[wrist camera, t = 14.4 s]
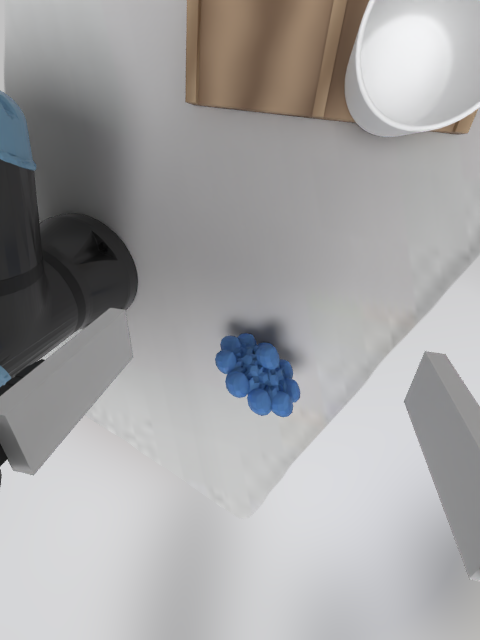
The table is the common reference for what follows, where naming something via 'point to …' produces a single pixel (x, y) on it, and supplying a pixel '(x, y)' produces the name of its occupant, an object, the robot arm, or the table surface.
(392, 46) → the mug
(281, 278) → the table surface
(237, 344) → the grapes
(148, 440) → the table surface
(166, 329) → the table surface
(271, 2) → the ledge board
